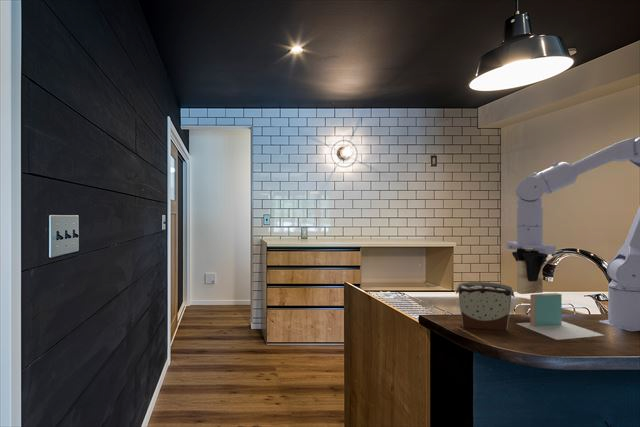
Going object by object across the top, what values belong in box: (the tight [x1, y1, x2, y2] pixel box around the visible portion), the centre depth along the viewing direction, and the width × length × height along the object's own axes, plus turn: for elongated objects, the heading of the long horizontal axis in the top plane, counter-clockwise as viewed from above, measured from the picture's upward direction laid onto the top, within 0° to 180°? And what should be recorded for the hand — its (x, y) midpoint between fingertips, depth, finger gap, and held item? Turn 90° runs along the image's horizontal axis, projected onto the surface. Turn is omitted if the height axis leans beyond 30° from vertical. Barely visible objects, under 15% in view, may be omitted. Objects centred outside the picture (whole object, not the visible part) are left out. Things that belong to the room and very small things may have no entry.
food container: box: [455, 281, 516, 331], centre depth 93 cm, size 12×6×10 cm, turn 74°
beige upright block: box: [516, 261, 544, 295], centre depth 101 cm, size 6×2×8 cm, turn 103°
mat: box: [516, 320, 606, 341], centre depth 90 cm, size 12×12×1 cm
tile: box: [529, 292, 563, 327], centre depth 93 cm, size 7×2×7 cm, turn 103°
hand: (529, 280), depth 101 cm, fingers closed on beige upright block, 2 cm apart
